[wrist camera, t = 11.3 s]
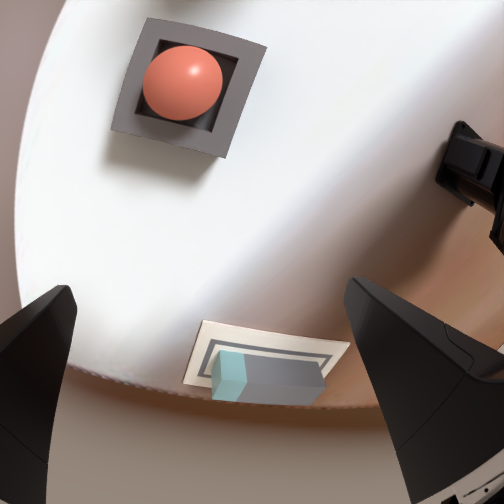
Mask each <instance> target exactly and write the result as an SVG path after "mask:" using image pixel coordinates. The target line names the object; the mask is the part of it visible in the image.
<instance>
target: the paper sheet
mask: <svg viewBox="0 0 504 504" xmlns="http://www.w3.org/2000/svg"><path fill="white" fill-rule="evenodd" d="M349 345H350V342H343V341H334V340H325V339H317V338H309V337H302V336H294V335H287V334H281V333H274V332H268V331H262V330H256V329H250V328H244V327H238V326H233V325H227V324H222V323H217V322H212V321H207V320H203V322H202V325H201V328H200V331H199V334H198V337H197V340H196V343H195V346H194V349H193V352H192V355H191V358H190V361H189V365H188V368H187V371H186V374H185V377H184V380H183V384H189V385H195V386H202V387H209V388H212V383H211V370H212V368H213V365H214V363H215V361H216V358H217V356H218V353H219V351H220V350H224V351H231V352H237V353H244V354H251V355H259V356H266V357H275V358H284V359H293V360H303V361H315V362H318V364H319V367H320V369H321V372H322V375H323V378H325V376H326V375H327V374H328V373H329V371H330V370H331V369H332V368H333V366H334V365H335V364H336V362H337V361H338V360H339V359H340V357H341V356H342V355H343V353H344V352H345V351H346V349H347V348H348V347H349Z"/></svg>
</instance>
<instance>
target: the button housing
mask: <svg viewBox="0 0 504 504" xmlns="http://www.w3.org/2000/svg"><path fill="white" fill-rule="evenodd" d="M178 46H193V47H197V48H200V49H203V50H205V51H206V52H208V53H209V54H210V55H212V56H213V57H214V59H215V60H216V61H217V63H218V64H219V66H220V69H221V72H222V88H221V91H220V94H219V96H218V98H217V100H216V102H215V103H214V104H213V105H212V106H211V107H210V108H209V109H208V110H207V111H206V112H204V113H203V114H201V115H199V116H197V117H194V118H191V119H187V120H172V119H168V118H165V117H163V116H161V115H159V114H157V113H156V112H155V111H154V110H153V109H152V108H151V107H150V106H149V105H148V103H147V101H146V99H145V96H144V93H143V79H144V75H145V72H146V70H147V68H148V66H149V65H150V64H151V62H152V61H153V60H154V59H155V58H156V57H157V56H158V55H160V54H161V53H163V52H164V51H166V50H168V49H171V48H174V47H178ZM266 49H267V47H266V46H263V45H260V44H257V43H254V42H251V41H248V40H245V39H242V38H238V37H235V36H232V35H228V34H225V33H221V32H217V31H213V30H209V29H205V28H201V27H197V26H192V25H187V24H182V23H177V22H172V21H166V20H160V19H153V18H147V20H146V22H145V24H144V27H143V29H142V32H141V34H140V37H139V39H138V42H137V44H136V47H135V50H134V53H133V55H132V58H131V61H130V64H129V67H128V70H127V73H126V76H125V79H124V82H123V85H122V89H121V92H120V95H119V99H118V102H117V106H116V110H115V114H114V117H113V121H112V126H111V130H112V131H117V132H122V133H127V134H131V135H136V136H141V137H145V138H149V139H153V140H158V141H162V142H166V143H170V144H174V145H178V146H182V147H185V148H189V149H193V150H197V151H200V152H204V153H208V154H211V155H215V156H218V157H221V158H226V156H227V153H228V150H229V147H230V144H231V141H232V138H233V135H234V133H235V130H236V127H237V124H238V122H239V119H240V116H241V113H242V111H243V108H244V105H245V103H246V100H247V97H248V95H249V92H250V89H251V87H252V84H253V82H254V79H255V76H256V74H257V71H258V69H259V66H260V64H261V61H262V59H263V56H264V54H265V52H266Z"/></svg>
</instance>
